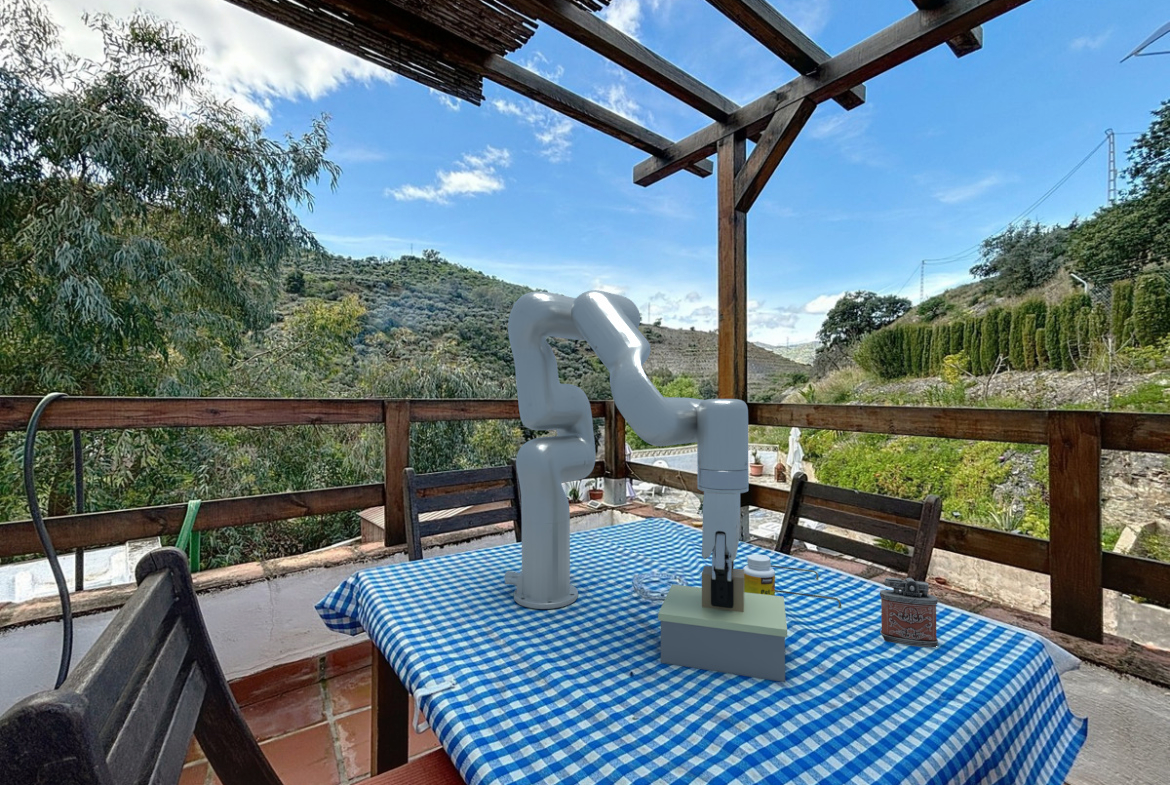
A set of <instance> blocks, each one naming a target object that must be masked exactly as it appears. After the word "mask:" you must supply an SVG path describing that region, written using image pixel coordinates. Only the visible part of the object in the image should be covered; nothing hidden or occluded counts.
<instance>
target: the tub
mask: <svg viewBox="0 0 1170 785" xmlns="http://www.w3.org/2000/svg"><path fill="white" fill-rule="evenodd" d="M660 663H661V664H667V665H674V666H679V667H686V668H692V669H699V670H705V671H711V672H712V671H713V672H716V673H724V674H731V675H736V676H737V675H739V676H742V677H743V676H744V677H748V678H750V677H751V678H756V679H761V680H762V679H764V680H770V681H775V682H782V683H786V637H781V636H774V635H766V634H759V633H751V632H743V631H736V630H728V629H721V628H713V627H705V626H698V625H690V624H683V623H675V622H667V621H660Z"/></svg>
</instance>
